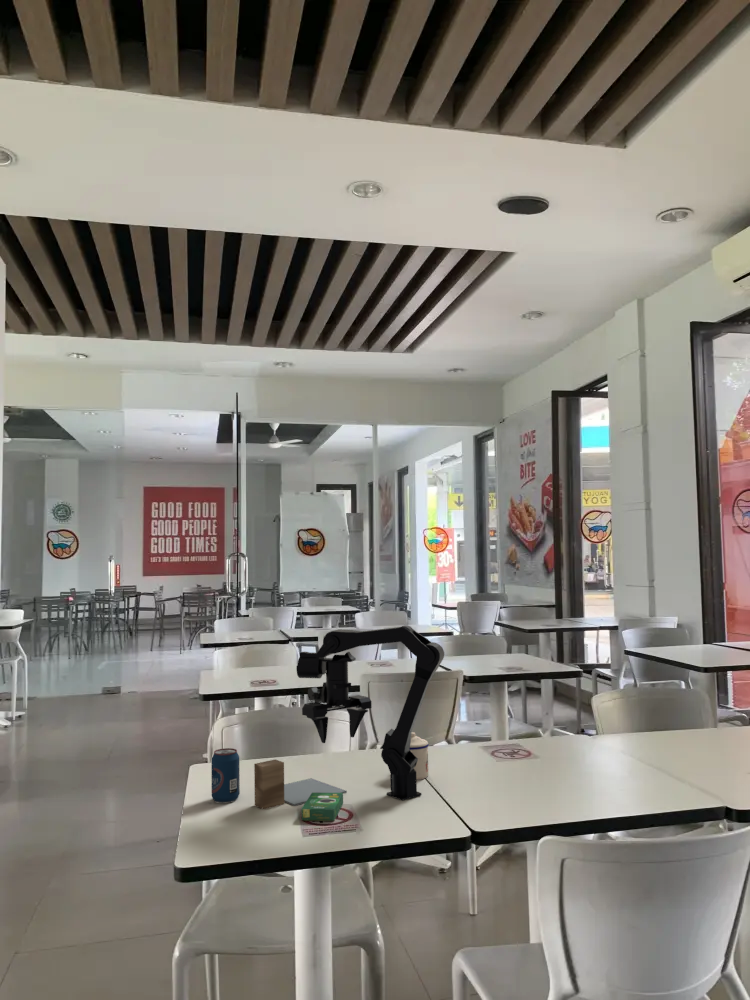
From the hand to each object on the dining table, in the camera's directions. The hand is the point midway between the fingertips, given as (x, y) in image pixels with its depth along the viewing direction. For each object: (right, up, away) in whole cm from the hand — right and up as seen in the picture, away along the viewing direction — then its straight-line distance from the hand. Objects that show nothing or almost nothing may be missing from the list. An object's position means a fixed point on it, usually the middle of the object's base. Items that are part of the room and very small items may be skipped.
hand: (338, 740), depth 201 cm
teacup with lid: (+19, -14, +13) cm, 27 cm away
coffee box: (-2, -11, -11) cm, 15 cm away
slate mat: (-9, -13, -1) cm, 16 cm away
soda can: (-28, -13, -6) cm, 32 cm away
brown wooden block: (-16, -13, -11) cm, 23 cm away
